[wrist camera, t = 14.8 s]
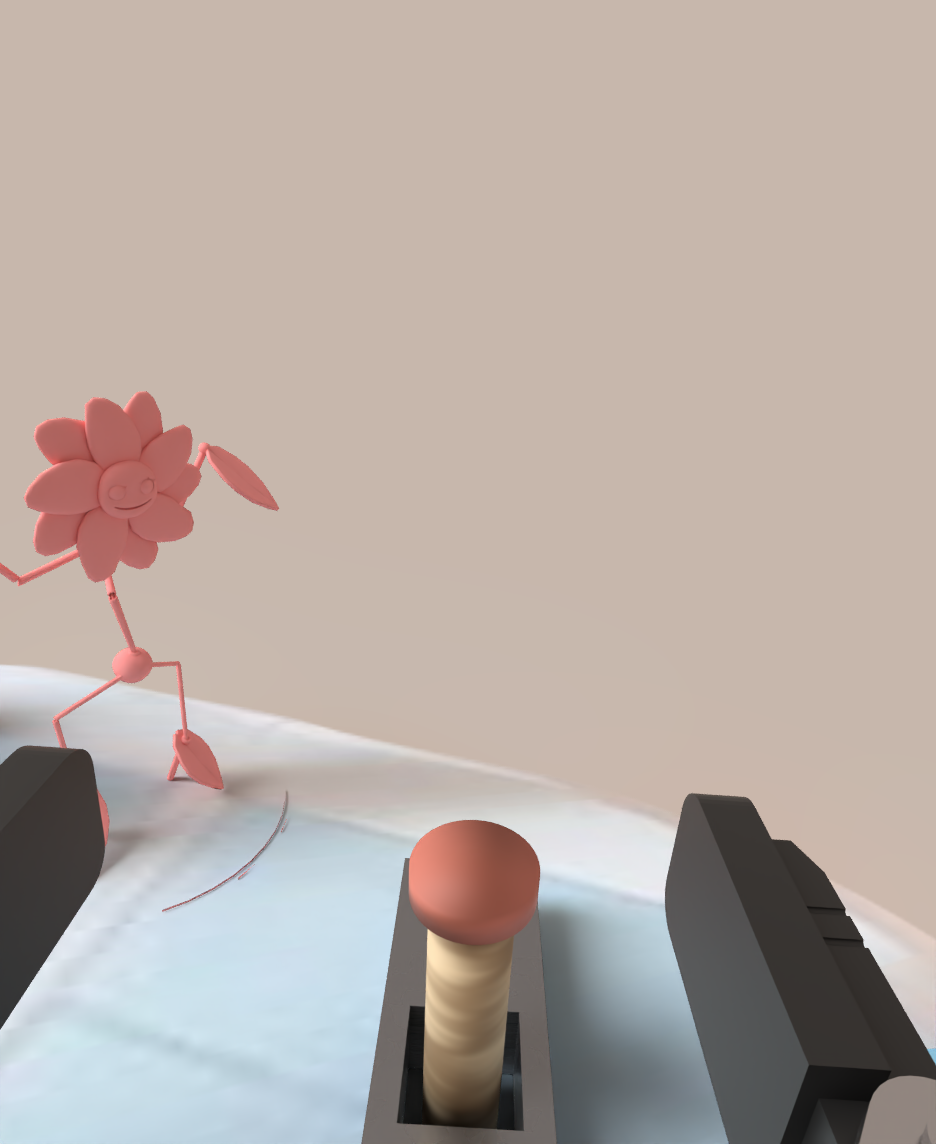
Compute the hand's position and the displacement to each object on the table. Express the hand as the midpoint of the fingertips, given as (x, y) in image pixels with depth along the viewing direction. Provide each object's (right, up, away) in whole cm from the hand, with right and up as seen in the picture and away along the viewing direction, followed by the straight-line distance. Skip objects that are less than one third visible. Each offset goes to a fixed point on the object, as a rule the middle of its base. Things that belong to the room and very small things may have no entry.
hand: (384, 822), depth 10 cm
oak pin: (+1, -26, +28) cm, 39 cm away
